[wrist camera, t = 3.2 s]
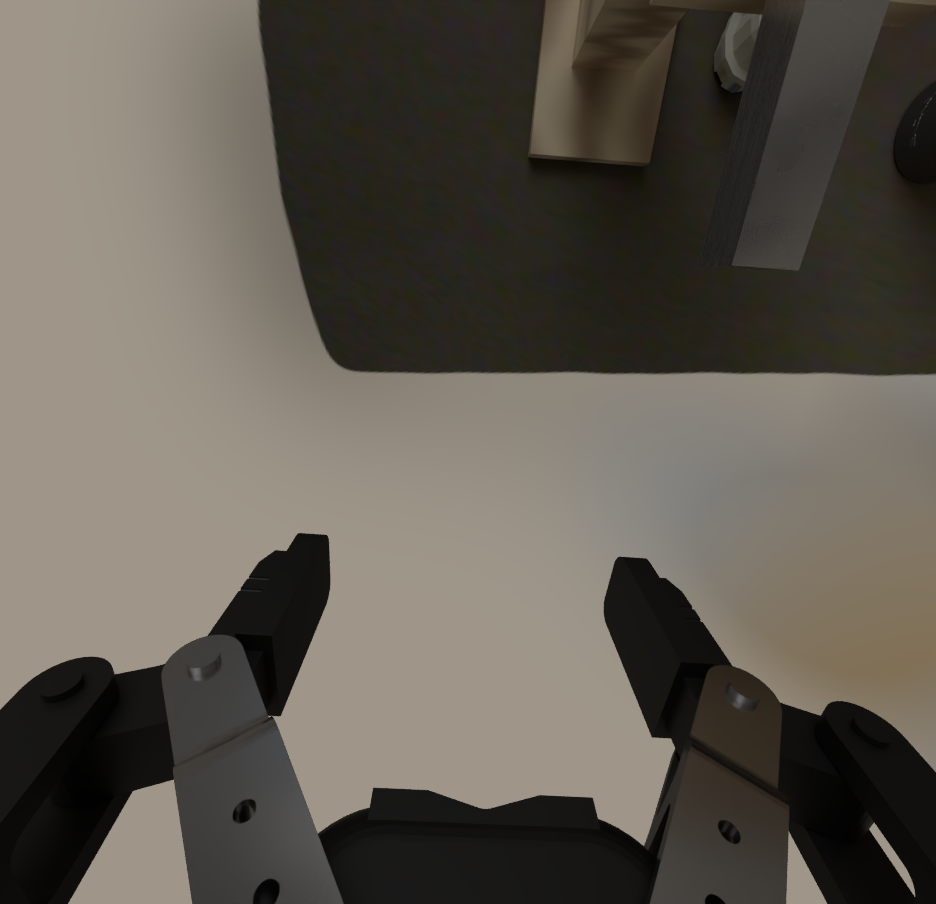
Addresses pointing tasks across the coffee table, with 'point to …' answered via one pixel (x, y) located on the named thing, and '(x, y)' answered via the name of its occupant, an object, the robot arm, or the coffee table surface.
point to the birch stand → (620, 73)
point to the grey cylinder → (736, 50)
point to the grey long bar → (789, 129)
